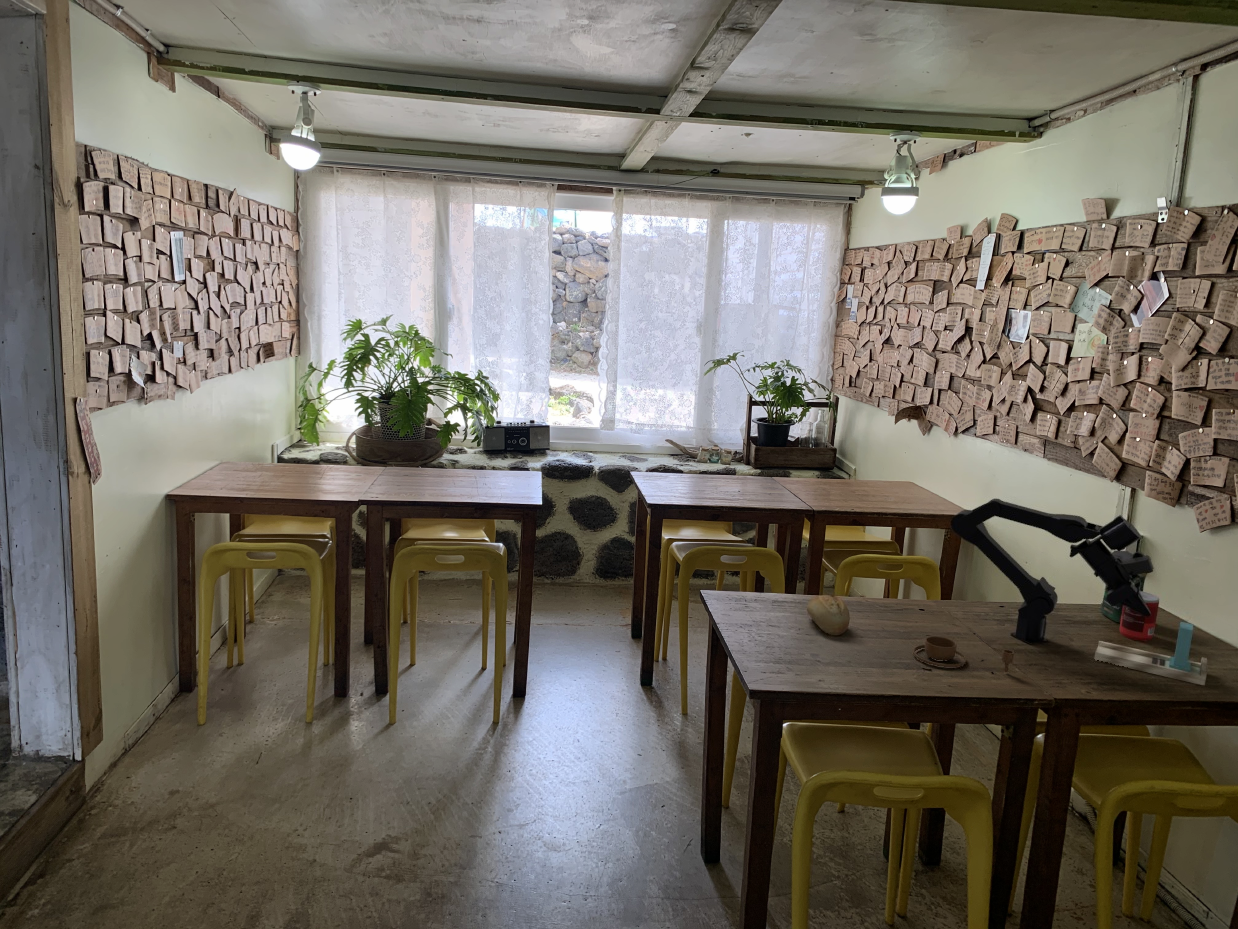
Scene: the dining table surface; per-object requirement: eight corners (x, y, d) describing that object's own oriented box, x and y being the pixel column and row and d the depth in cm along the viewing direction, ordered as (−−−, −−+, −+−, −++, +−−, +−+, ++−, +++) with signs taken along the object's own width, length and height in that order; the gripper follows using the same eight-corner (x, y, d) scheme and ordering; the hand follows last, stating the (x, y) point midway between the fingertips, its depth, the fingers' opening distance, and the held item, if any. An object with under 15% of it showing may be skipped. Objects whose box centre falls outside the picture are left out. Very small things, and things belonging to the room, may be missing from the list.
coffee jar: (1094, 611, 237) (1104, 548, 234) (1122, 612, 238) (1132, 548, 234) (1116, 624, 228) (1126, 558, 224) (1144, 625, 228) (1155, 559, 225)
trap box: (1094, 659, 204) (1096, 646, 203) (1098, 648, 211) (1100, 635, 210) (1204, 685, 192) (1207, 671, 191) (1204, 672, 199) (1207, 658, 198)
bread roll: (832, 615, 227) (834, 587, 225) (857, 637, 212) (860, 606, 211) (798, 616, 225) (800, 587, 223) (821, 638, 210) (824, 608, 209)
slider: (1168, 668, 196) (1175, 627, 194) (1169, 660, 201) (1176, 620, 199) (1189, 673, 194) (1196, 632, 192) (1189, 665, 199) (1197, 624, 197)
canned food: (1148, 632, 223) (1155, 592, 221) (1156, 643, 216) (1163, 602, 214) (1115, 628, 226) (1121, 588, 223) (1122, 638, 218) (1129, 598, 216)
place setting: (942, 645, 211) (945, 623, 209) (1016, 676, 194) (1019, 652, 193) (894, 658, 201) (896, 635, 200) (967, 692, 185) (970, 666, 184)
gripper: (1130, 551, 192) (1180, 608, 188) (1135, 535, 207) (1182, 587, 203) (1086, 577, 198) (1134, 634, 194) (1095, 559, 213) (1139, 611, 209)
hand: (1149, 615), depth 200 cm, fingers closed
